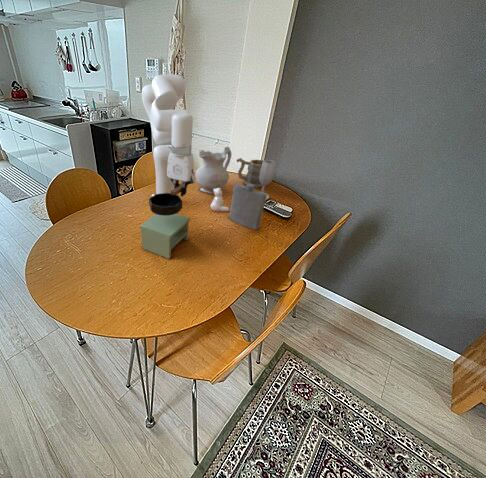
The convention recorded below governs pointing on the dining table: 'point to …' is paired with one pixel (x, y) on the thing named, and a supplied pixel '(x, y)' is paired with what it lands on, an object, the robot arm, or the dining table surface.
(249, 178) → the tankard
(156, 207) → the pan
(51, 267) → the dining table surface
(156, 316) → the dining table surface
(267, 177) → the wineglass
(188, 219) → the sage green box
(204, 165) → the ceramic pitcher
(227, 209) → the sitting furry creature
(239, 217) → the hip flask
